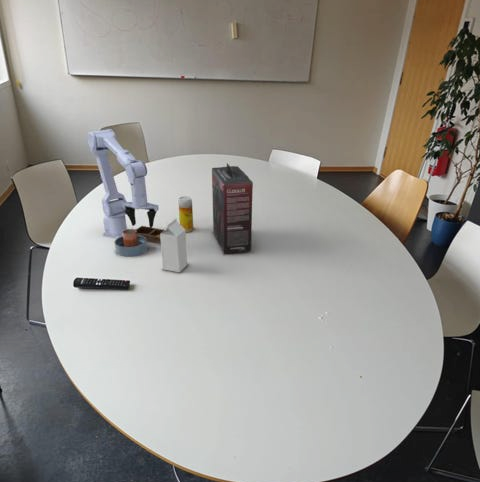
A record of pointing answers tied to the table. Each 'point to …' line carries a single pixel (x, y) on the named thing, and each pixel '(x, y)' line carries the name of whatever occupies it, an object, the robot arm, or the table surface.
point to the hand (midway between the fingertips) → (142, 225)
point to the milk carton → (173, 247)
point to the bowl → (131, 250)
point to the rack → (150, 234)
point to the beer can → (186, 213)
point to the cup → (130, 238)
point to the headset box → (232, 208)
